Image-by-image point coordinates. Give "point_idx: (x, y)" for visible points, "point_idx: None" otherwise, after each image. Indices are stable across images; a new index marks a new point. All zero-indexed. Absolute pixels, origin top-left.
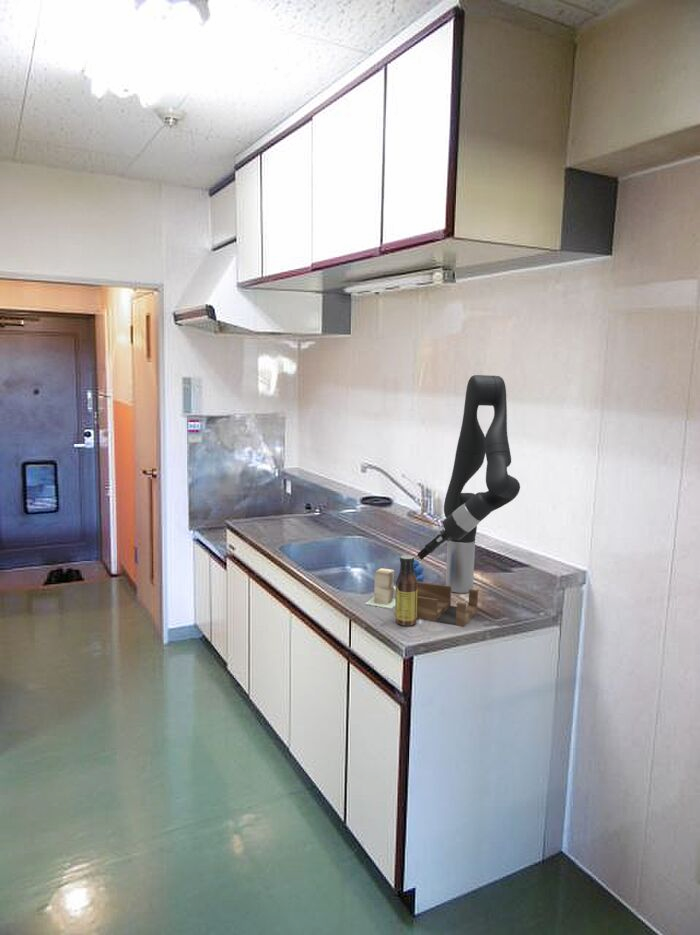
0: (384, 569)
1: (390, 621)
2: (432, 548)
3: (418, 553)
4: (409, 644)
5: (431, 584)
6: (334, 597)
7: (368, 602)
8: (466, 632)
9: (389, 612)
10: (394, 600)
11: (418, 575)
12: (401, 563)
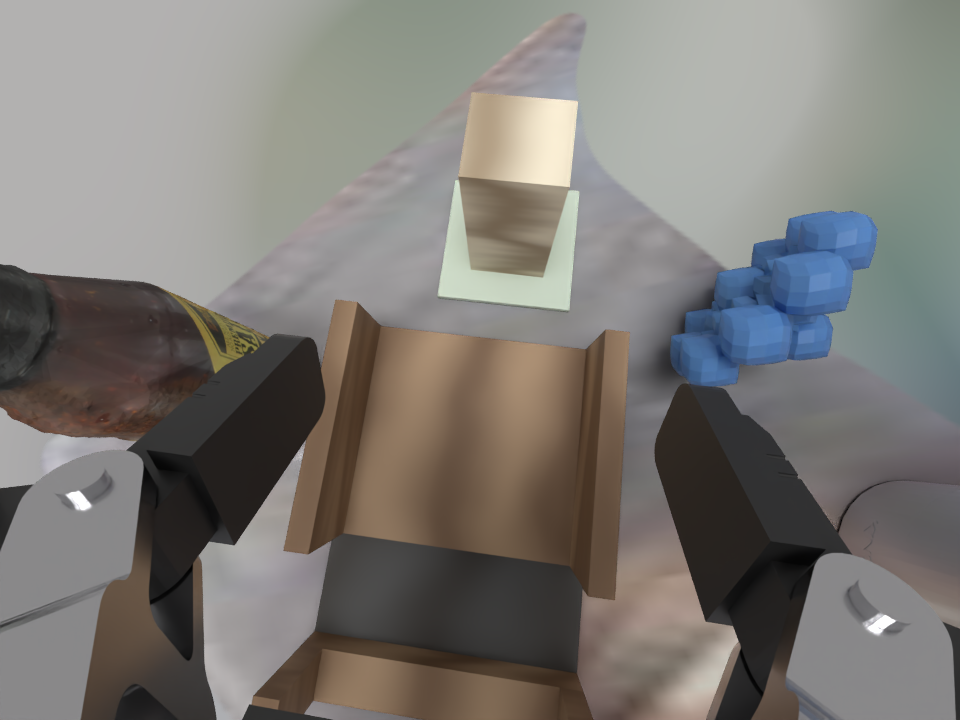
0: (554, 128)
1: (286, 331)
2: (683, 487)
3: (266, 347)
4: (45, 464)
5: (602, 456)
6: (503, 57)
7: None
8: (232, 697)
9: (395, 300)
10: (546, 282)
11: (710, 344)
12: None
